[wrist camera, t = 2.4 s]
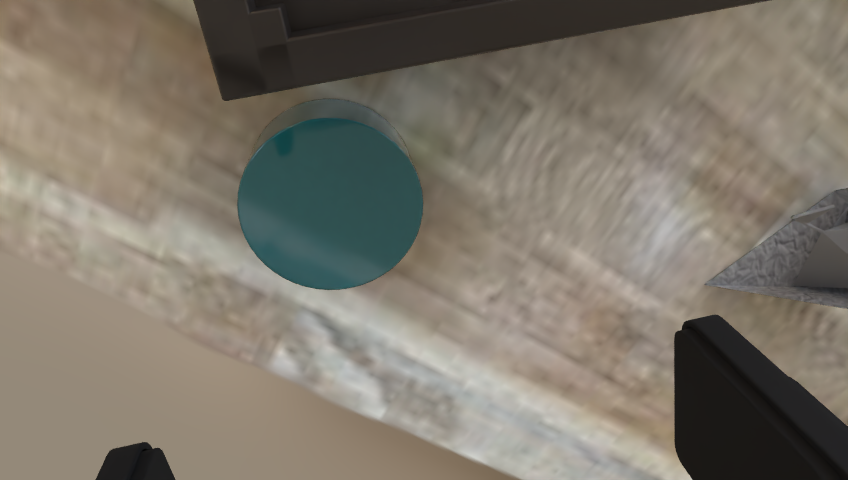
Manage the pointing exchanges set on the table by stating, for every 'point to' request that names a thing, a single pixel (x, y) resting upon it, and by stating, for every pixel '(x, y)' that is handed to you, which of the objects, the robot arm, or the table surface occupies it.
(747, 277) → the paper boat
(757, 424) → the robot arm
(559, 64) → the table surface
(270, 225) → the disc
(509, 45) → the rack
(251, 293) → the table surface
